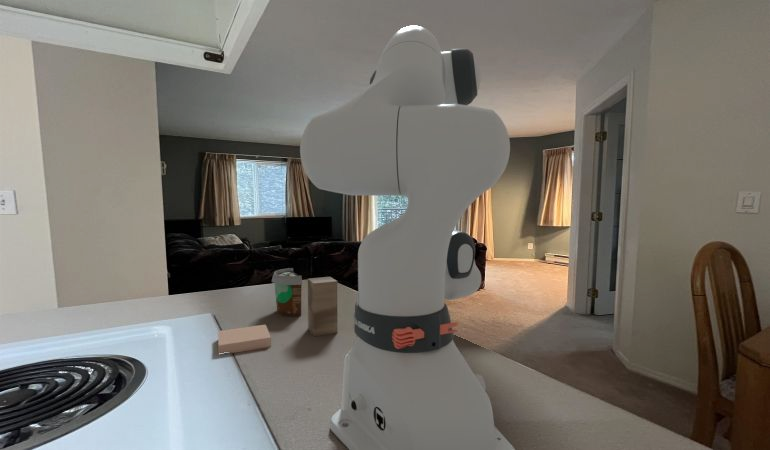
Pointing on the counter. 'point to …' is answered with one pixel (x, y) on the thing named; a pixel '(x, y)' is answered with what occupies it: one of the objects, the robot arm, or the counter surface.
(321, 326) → the block
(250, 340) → the tile
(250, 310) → the counter surface
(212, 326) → the counter surface
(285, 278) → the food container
